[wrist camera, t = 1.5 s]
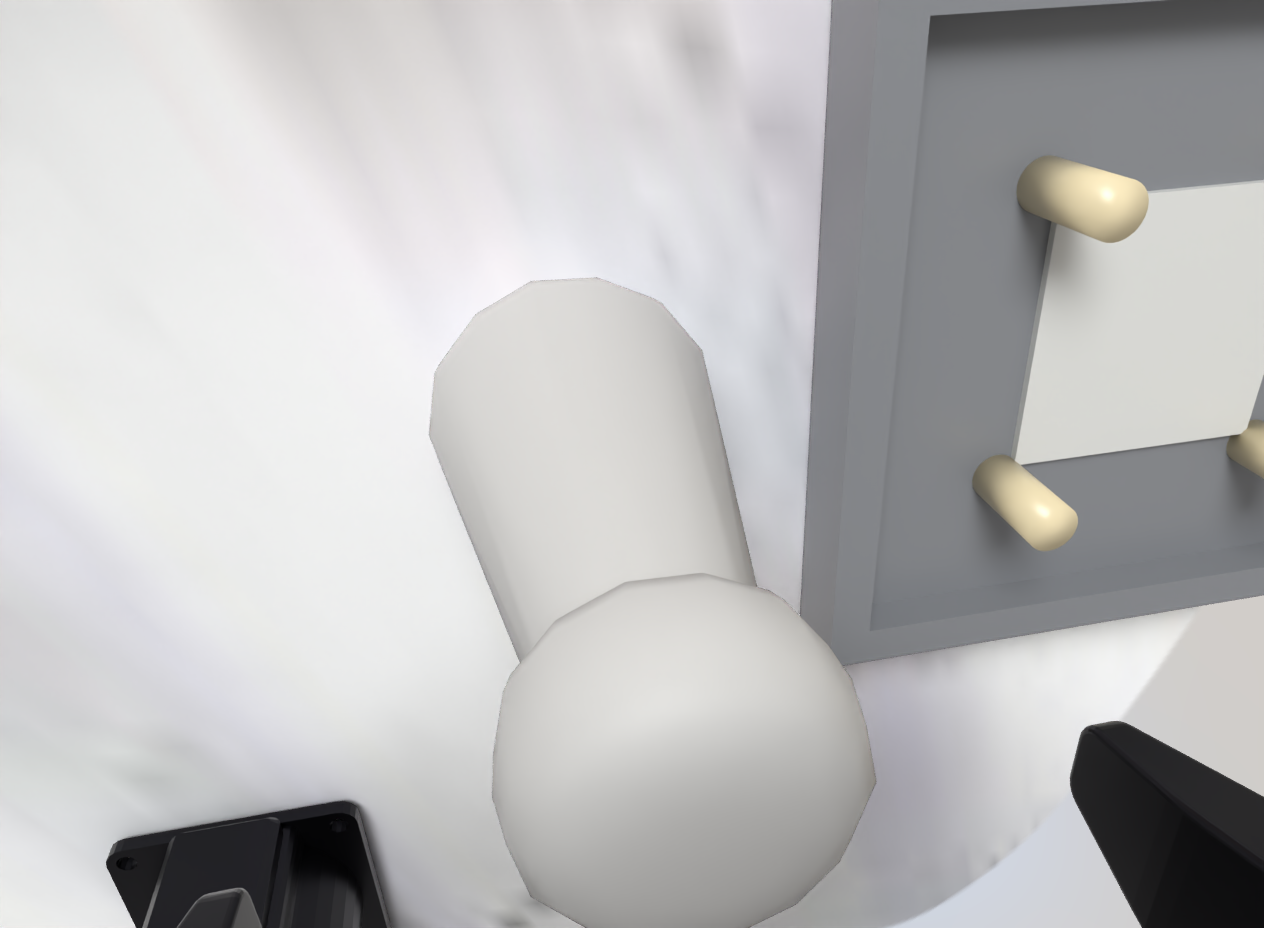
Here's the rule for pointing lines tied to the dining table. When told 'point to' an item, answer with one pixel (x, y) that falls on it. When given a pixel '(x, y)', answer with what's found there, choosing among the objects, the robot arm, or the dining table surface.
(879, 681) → the dining table surface
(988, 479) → the pin tray
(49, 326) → the dining table surface
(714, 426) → the salt shaker
